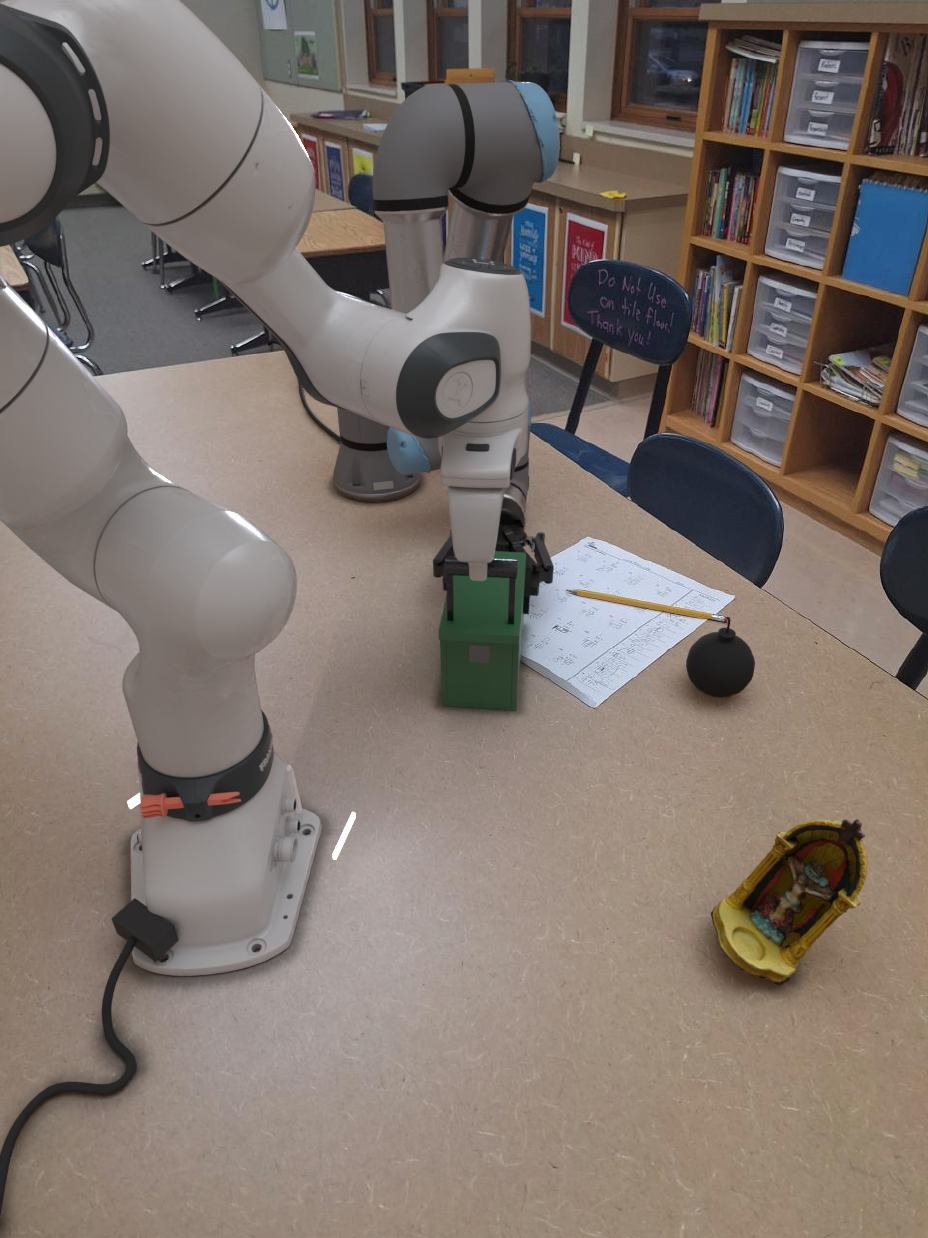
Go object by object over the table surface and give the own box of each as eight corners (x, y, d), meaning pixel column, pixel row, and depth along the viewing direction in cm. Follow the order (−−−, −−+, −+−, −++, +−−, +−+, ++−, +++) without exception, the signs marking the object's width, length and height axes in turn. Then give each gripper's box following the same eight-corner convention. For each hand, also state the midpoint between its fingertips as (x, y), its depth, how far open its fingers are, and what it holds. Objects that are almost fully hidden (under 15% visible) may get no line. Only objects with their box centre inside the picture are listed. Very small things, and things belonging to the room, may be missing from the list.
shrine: (791, 892, 81) (830, 781, 73) (851, 966, 75) (901, 853, 66) (686, 929, 78) (714, 817, 69) (739, 1009, 72) (776, 896, 63)
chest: (516, 710, 103) (519, 639, 97) (441, 705, 104) (439, 635, 97) (522, 628, 116) (525, 561, 110) (456, 624, 117) (456, 557, 111)
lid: (519, 644, 96) (522, 573, 90) (438, 640, 97) (436, 569, 91) (525, 560, 110) (528, 495, 105) (456, 557, 111) (455, 491, 105)
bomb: (693, 662, 110) (708, 583, 103) (755, 683, 107) (776, 603, 100) (672, 697, 104) (687, 616, 97) (737, 719, 101) (757, 637, 94)
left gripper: (461, 391, 93) (463, 505, 101) (437, 478, 76) (441, 605, 85) (520, 393, 92) (516, 507, 100) (508, 480, 76) (506, 608, 84)
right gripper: (571, 543, 130) (571, 631, 112) (428, 536, 132) (405, 622, 114) (574, 499, 126) (575, 583, 107) (427, 492, 127) (403, 574, 109)
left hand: (482, 553), depth 92 cm, fingers open, 8 cm apart
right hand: (488, 603), depth 110 cm, fingers closed on chest, 9 cm apart
